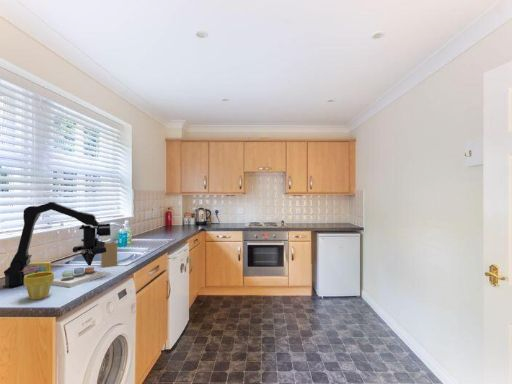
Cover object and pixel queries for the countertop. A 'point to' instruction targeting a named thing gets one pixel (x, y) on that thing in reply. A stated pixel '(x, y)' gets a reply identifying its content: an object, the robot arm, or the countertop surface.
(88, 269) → the terracotta button
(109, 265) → the sandwich container
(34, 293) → the plant pot
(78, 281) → the button board
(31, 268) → the candy box
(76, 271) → the slate button
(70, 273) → the sage button
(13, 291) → the countertop surface
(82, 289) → the countertop surface
